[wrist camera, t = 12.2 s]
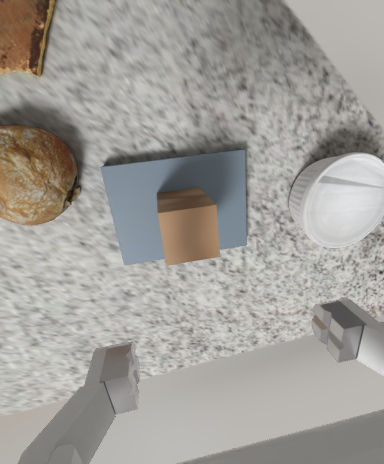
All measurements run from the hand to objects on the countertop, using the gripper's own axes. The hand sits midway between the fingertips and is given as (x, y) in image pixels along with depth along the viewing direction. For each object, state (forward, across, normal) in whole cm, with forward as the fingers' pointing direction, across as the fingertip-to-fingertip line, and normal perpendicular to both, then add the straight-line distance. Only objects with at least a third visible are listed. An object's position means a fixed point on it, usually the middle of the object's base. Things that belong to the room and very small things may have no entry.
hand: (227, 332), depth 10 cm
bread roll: (+21, +16, -6) cm, 27 cm away
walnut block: (+19, 0, 0) cm, 19 cm away
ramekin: (+21, -19, +1) cm, 28 cm away
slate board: (+21, 0, 0) cm, 21 cm away
